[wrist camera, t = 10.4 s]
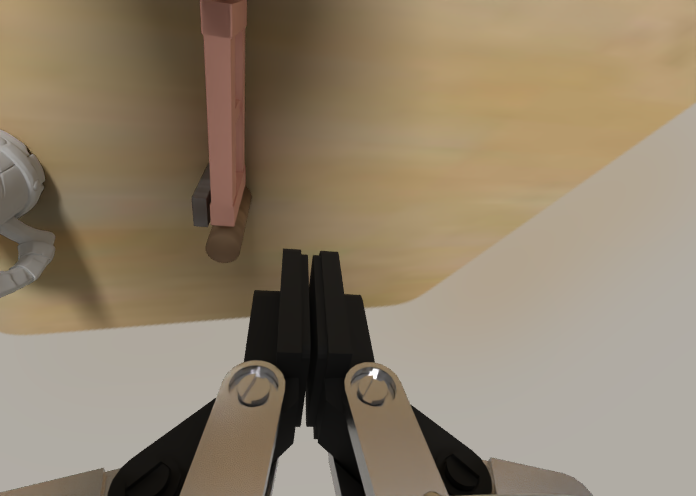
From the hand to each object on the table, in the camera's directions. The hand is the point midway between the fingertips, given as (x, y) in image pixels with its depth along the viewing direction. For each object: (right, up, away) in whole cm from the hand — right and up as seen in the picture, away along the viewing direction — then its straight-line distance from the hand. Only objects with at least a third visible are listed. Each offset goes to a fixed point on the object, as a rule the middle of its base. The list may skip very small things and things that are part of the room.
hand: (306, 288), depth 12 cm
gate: (-7, +13, +18) cm, 23 cm away
